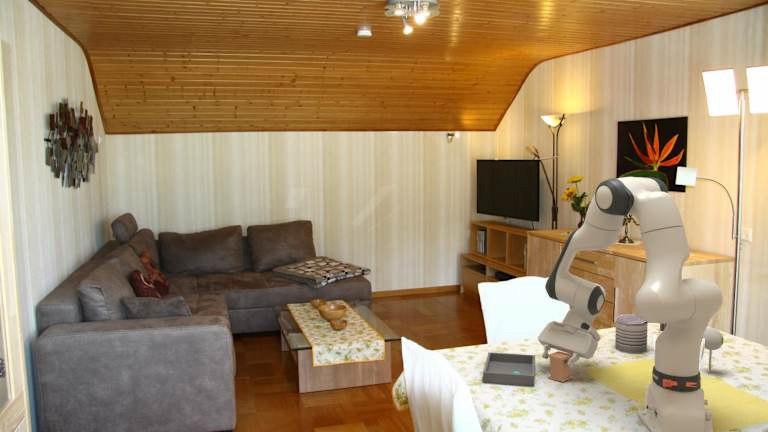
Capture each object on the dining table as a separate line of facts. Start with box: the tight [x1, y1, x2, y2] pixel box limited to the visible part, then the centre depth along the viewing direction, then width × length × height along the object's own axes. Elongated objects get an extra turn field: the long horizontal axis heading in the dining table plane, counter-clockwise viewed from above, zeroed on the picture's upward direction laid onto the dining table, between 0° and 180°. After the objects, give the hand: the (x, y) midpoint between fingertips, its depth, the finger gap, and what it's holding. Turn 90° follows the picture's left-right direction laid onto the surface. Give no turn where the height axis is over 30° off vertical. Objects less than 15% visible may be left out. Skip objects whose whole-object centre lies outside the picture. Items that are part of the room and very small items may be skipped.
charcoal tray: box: [482, 351, 536, 387], centre depth 211 cm, size 20×16×4 cm
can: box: [614, 313, 649, 355], centre depth 233 cm, size 11×11×12 cm
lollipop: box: [703, 327, 724, 374], centre depth 208 cm, size 7×7×15 cm
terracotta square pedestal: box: [548, 350, 574, 383], centre depth 206 cm, size 6×6×8 cm
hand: (555, 361), depth 207 cm, fingers open, 8 cm apart
